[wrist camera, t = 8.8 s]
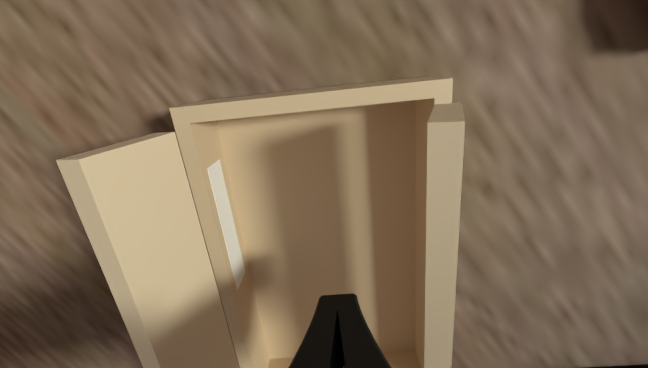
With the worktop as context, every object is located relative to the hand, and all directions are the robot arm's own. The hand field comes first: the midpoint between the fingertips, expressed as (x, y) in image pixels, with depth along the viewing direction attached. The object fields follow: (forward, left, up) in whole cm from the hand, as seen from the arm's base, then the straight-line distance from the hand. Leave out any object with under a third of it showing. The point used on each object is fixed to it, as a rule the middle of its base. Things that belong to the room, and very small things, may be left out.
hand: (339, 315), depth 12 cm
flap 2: (-3, 0, 0) cm, 3 cm away
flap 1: (+5, 0, +1) cm, 5 cm away
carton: (0, 0, -5) cm, 5 cm away
